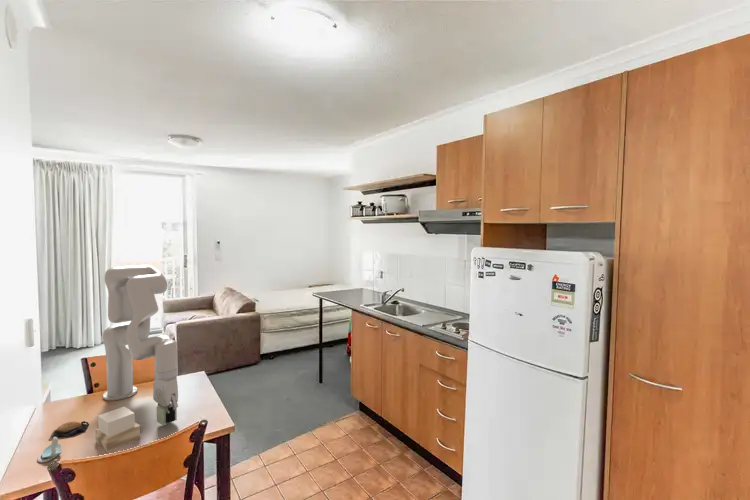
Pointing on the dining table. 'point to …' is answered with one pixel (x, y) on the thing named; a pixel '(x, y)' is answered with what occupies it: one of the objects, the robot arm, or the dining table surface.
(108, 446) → the tower base
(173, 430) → the dining table surface
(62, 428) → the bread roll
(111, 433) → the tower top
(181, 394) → the dining table surface
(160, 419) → the sage block
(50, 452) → the pacifier
